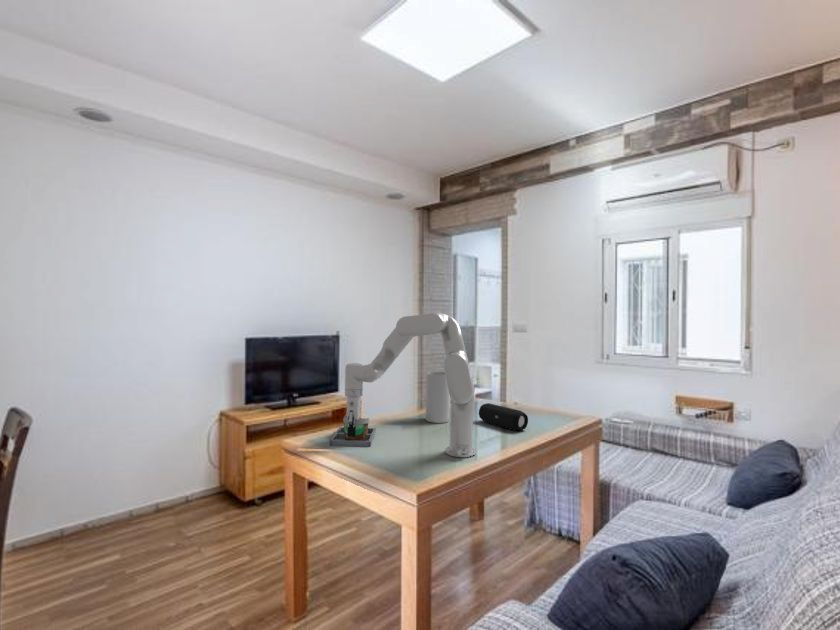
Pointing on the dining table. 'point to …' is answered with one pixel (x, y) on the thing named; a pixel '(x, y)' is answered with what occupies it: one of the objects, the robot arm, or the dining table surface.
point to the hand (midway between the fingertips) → (352, 433)
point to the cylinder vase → (437, 398)
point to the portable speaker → (503, 416)
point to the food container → (357, 429)
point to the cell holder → (340, 440)
